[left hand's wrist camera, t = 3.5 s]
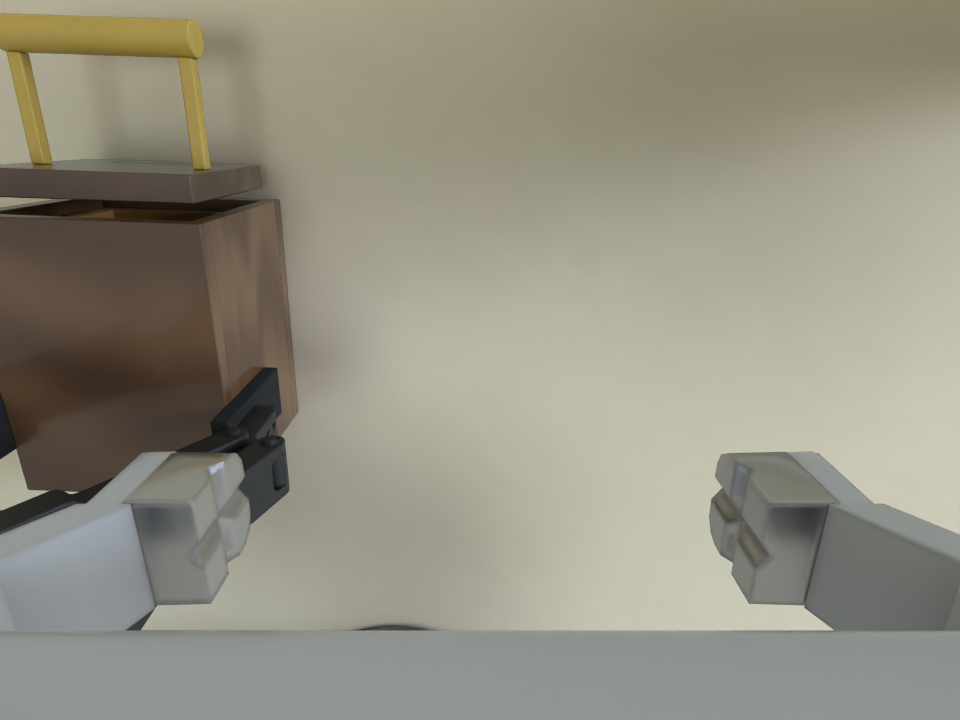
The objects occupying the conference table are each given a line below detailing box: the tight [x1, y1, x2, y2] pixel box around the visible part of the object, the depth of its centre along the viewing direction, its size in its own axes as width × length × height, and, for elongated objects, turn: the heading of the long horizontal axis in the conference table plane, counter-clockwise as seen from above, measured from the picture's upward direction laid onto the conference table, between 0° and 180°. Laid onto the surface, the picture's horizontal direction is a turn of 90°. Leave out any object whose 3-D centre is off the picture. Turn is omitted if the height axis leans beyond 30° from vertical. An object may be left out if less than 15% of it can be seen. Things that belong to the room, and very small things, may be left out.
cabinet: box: [0, 198, 298, 492], centre depth 31 cm, size 13×10×10 cm
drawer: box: [0, 13, 262, 221], centre depth 29 cm, size 18×9×8 cm, turn 178°
